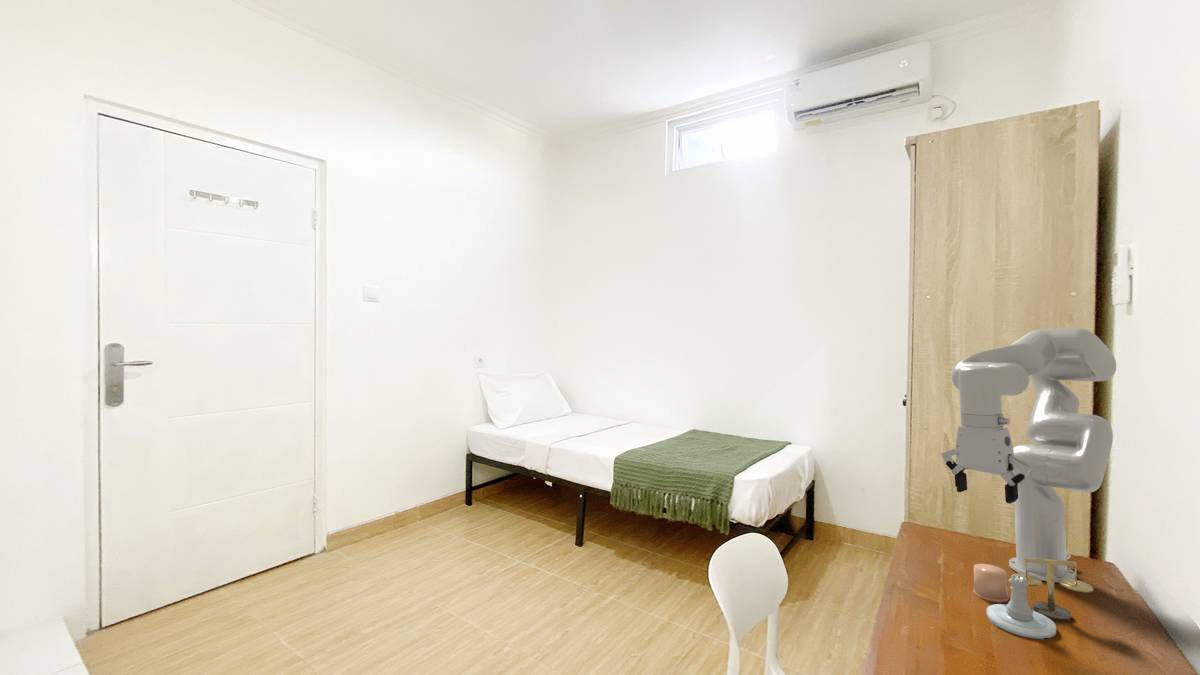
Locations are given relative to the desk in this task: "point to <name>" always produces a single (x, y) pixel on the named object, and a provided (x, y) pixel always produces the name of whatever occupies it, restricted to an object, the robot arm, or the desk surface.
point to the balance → (1051, 608)
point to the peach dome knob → (990, 583)
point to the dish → (1021, 623)
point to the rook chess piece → (1019, 600)
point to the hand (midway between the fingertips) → (985, 496)
